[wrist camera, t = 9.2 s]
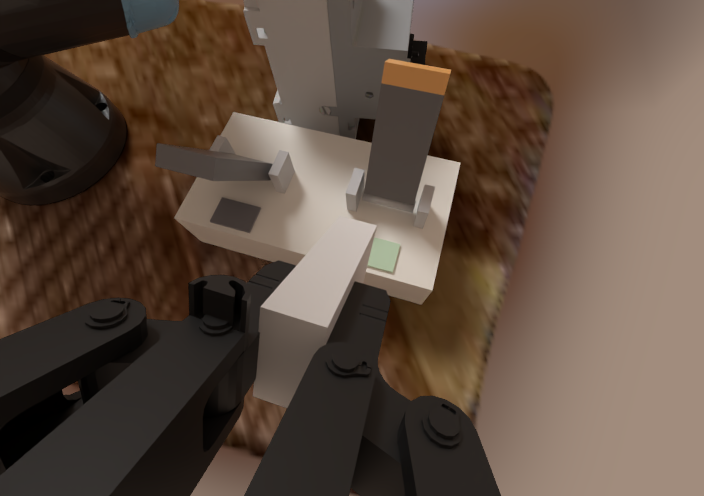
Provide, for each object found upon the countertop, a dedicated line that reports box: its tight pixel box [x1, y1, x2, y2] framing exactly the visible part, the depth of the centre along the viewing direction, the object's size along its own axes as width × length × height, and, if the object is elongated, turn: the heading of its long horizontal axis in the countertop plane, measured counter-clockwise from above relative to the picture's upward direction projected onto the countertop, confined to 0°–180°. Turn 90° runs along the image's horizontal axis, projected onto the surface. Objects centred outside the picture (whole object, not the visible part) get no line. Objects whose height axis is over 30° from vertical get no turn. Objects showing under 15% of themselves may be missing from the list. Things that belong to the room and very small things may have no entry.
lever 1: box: [155, 143, 273, 181], centre depth 24 cm, size 4×1×9 cm
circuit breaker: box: [244, 0, 427, 139], centre depth 31 cm, size 8×14×15 cm, turn 81°
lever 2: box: [362, 59, 451, 213], centre depth 23 cm, size 4×1×10 cm, turn 73°
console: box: [174, 112, 460, 305], centre depth 29 cm, size 22×12×8 cm, turn 73°
